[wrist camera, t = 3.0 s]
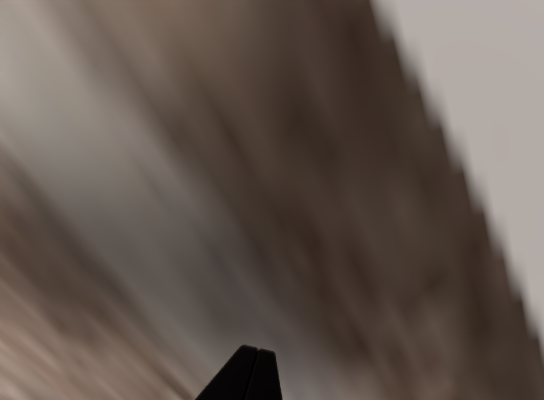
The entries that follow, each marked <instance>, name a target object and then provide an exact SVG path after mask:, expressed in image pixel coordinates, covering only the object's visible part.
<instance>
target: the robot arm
mask: <svg viewBox="0 0 544 400" xmlns="http://www.w3.org/2000/svg"><path fill="white" fill-rule="evenodd" d="M195 400H283V399H282V393H281V387H280V380H279V374H278V367H277V361H276V355H275V353H274V352H273V351H270V350H265V349H259V350H258V349H257V348H256V347H253V346H248V345H242V346H240V347H239V349H238V350H237V351H236V352H235V353H234V354H233V356H232V357H231V358H230V359H229V360H228V361H227V363H226V364H225V365H224V366H223V367H222V368H221V370H220V371H219V372H218V373H217V374H216V375H215V377H214V378H213V379H212V380H211V381H210V382H209V384H208V385H207V386H206V387H205V388H204V389H203V391H202V392H201V393H200V394H199V395H198V396H197V398H196V399H195Z"/></svg>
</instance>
